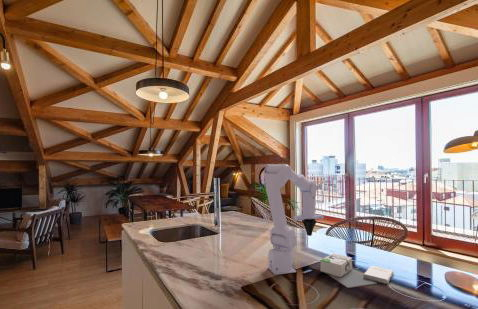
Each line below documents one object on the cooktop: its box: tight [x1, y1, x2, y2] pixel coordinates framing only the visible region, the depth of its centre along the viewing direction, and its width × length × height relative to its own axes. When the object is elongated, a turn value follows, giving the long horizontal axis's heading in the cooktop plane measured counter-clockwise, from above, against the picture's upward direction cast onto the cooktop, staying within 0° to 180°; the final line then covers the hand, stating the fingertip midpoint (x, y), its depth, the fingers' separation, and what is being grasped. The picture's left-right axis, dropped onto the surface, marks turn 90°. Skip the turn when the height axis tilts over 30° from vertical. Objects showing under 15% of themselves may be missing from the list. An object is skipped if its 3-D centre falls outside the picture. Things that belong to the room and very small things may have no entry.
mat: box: [325, 268, 378, 289], centre depth 101 cm, size 12×14×1 cm
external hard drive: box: [362, 265, 394, 284], centre depth 102 cm, size 2×8×12 cm
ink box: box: [319, 253, 353, 277], centre depth 107 cm, size 9×5×12 cm
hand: (309, 235), depth 123 cm, fingers closed
